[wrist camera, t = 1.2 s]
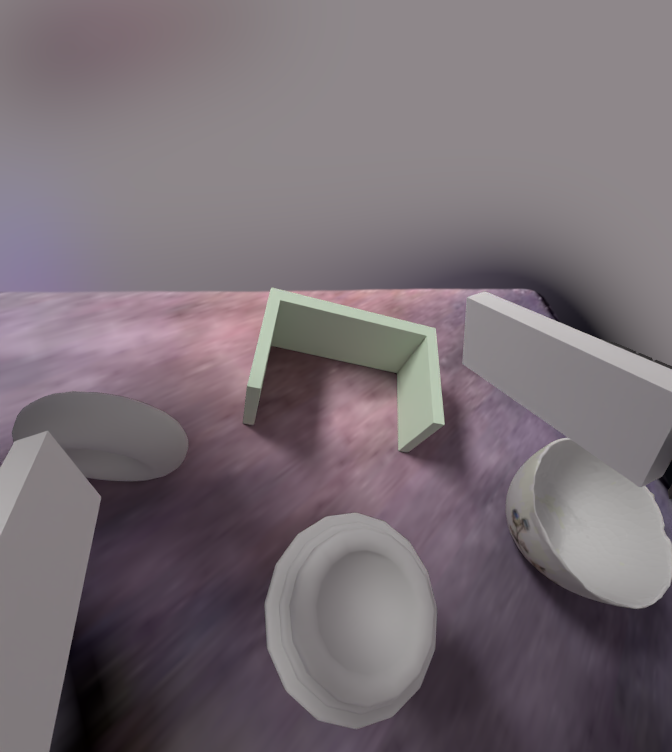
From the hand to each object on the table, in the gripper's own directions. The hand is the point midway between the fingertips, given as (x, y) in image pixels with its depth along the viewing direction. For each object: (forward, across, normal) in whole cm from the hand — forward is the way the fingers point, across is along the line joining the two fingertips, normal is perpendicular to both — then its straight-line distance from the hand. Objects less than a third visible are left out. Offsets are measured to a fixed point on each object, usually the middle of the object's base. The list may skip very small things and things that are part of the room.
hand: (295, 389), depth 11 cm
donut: (+16, -12, -12) cm, 23 cm away
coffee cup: (+4, -2, -22) cm, 23 cm away
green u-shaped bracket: (+19, +6, -15) cm, 25 cm away
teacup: (+4, +21, -28) cm, 35 cm away
